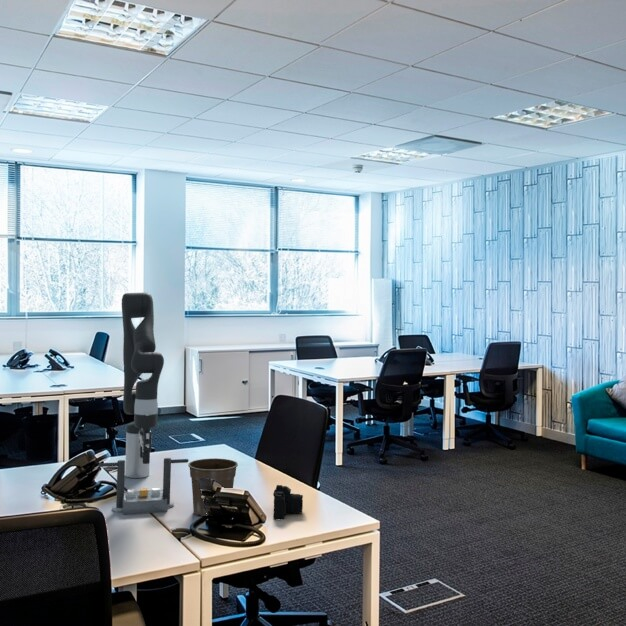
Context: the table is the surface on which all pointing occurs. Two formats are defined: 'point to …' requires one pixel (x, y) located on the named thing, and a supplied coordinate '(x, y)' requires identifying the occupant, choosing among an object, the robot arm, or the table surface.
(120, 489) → the cable post
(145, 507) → the grey block holder
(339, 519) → the table surface
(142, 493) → the orange matte cube
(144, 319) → the robot arm
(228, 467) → the plant pot
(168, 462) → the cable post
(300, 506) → the film camera
